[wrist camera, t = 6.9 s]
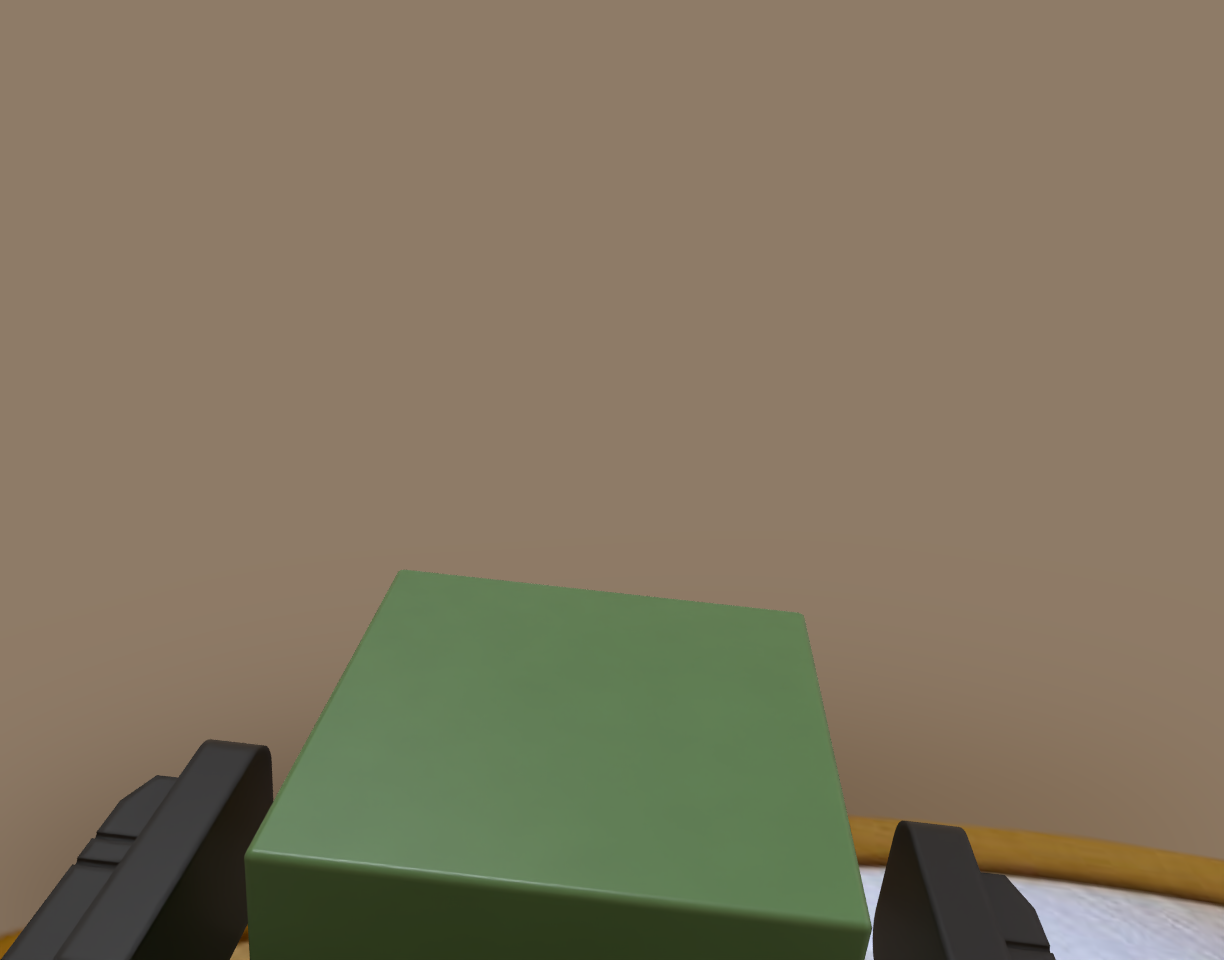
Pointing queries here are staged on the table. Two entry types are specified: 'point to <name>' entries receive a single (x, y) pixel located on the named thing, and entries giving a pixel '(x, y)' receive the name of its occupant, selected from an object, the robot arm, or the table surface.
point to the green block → (562, 788)
